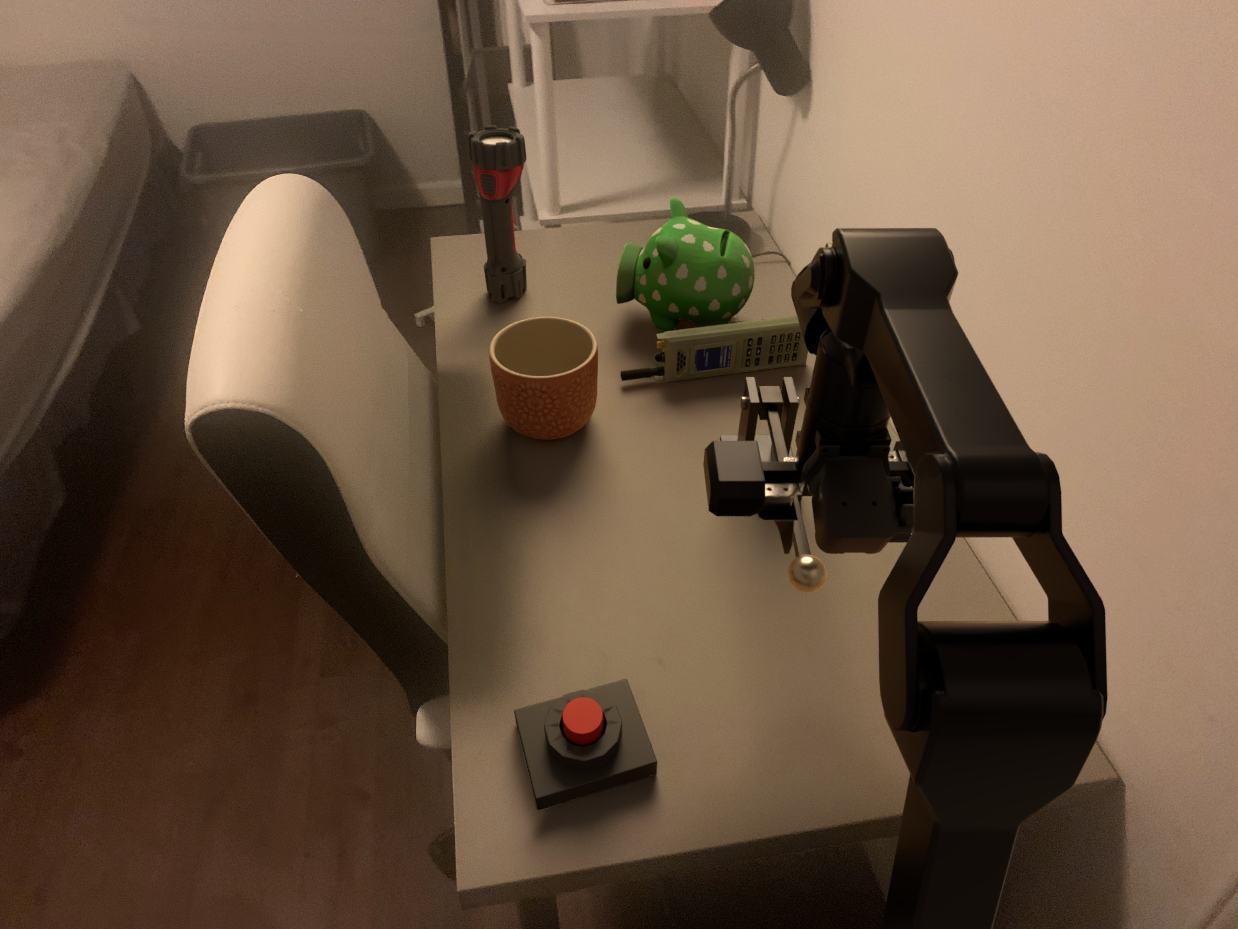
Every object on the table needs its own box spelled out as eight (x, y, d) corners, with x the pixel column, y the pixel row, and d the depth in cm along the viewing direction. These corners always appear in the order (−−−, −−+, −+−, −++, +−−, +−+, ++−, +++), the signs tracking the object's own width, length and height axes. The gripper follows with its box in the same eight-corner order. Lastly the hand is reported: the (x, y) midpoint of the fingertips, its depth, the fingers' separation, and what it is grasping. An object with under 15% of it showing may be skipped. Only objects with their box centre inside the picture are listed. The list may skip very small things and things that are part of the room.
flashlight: (527, 270, 125) (513, 119, 109) (543, 294, 120) (532, 139, 104) (478, 280, 123) (458, 127, 107) (493, 305, 117) (474, 148, 102)
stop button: (596, 703, 66) (596, 692, 65) (608, 738, 64) (607, 727, 63) (559, 714, 65) (558, 703, 64) (569, 749, 63) (568, 739, 62)
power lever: (826, 600, 68) (833, 576, 66) (788, 600, 68) (794, 576, 66) (780, 406, 87) (784, 382, 85) (751, 406, 87) (754, 382, 85)
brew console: (626, 691, 71) (626, 666, 68) (656, 774, 65) (658, 751, 63) (515, 723, 69) (511, 698, 66) (537, 811, 63) (533, 788, 61)
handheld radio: (808, 368, 106) (623, 392, 102) (799, 354, 108) (618, 377, 105) (816, 324, 102) (623, 347, 98) (806, 311, 104) (617, 333, 100)
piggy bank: (632, 286, 121) (633, 190, 111) (752, 299, 118) (765, 202, 108) (612, 339, 111) (611, 239, 101) (743, 354, 108) (756, 253, 98)
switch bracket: (800, 502, 88) (819, 420, 80) (727, 502, 88) (738, 420, 80) (786, 442, 95) (802, 361, 87) (719, 442, 95) (728, 361, 87)
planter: (606, 447, 95) (605, 372, 87) (500, 458, 93) (490, 383, 86) (592, 384, 103) (590, 311, 96) (496, 393, 102) (486, 320, 95)
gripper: (726, 484, 49) (707, 632, 60) (1029, 483, 49) (956, 631, 60) (710, 374, 57) (696, 522, 68) (970, 374, 57) (916, 522, 68)
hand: (812, 549), depth 66 cm, fingers open, 4 cm apart
